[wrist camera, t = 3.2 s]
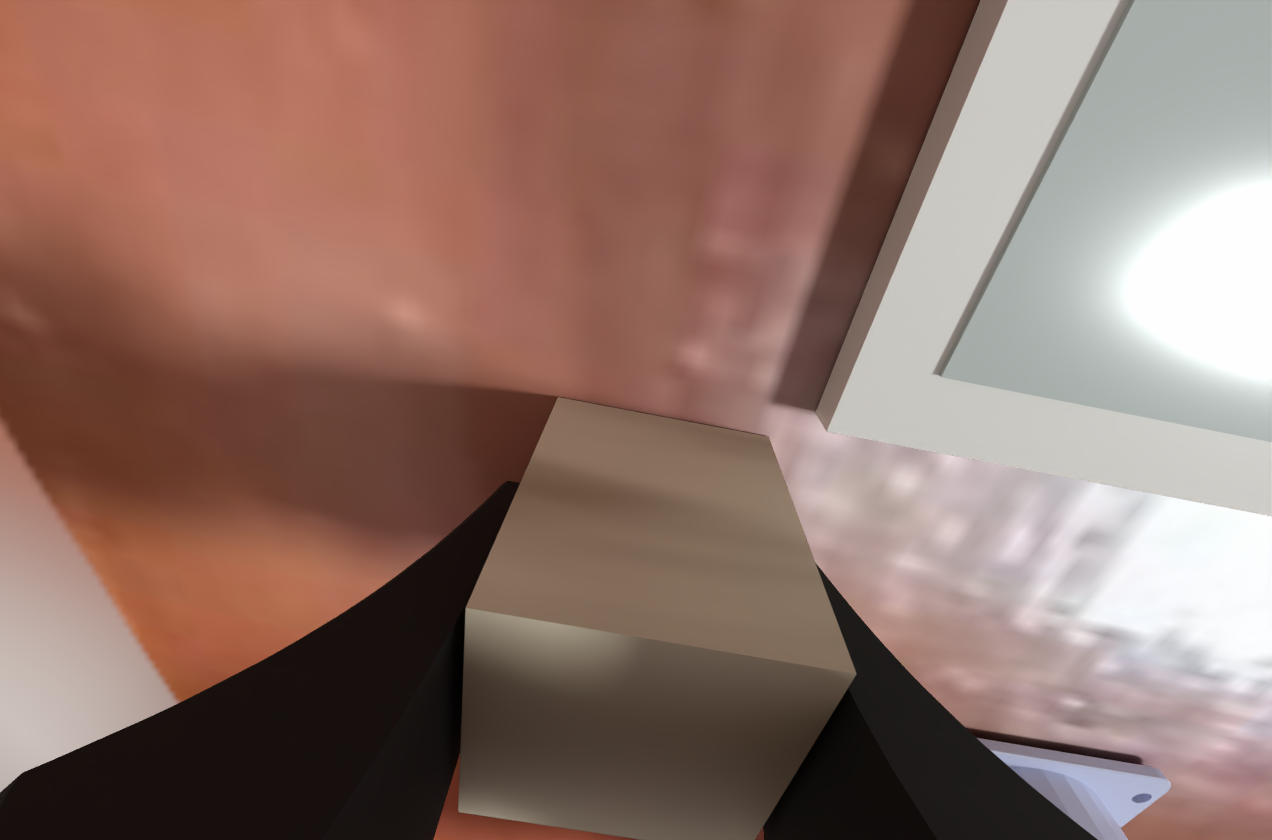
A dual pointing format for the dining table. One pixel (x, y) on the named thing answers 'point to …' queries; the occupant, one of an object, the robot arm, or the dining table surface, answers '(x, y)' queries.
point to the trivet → (1084, 255)
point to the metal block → (646, 635)
